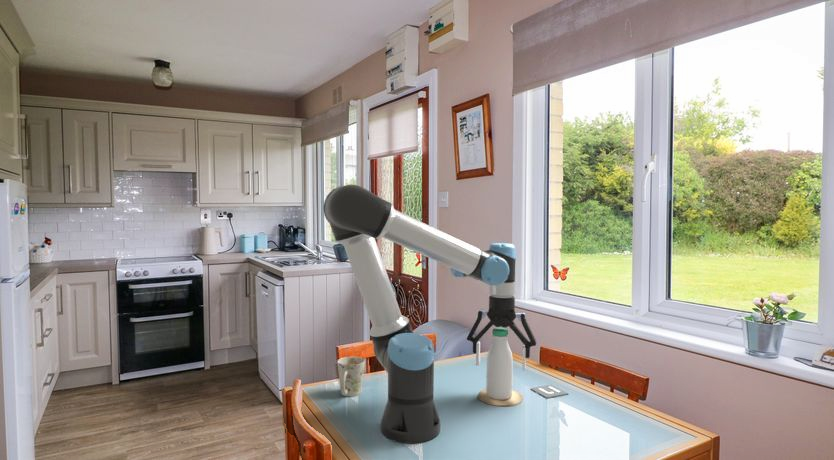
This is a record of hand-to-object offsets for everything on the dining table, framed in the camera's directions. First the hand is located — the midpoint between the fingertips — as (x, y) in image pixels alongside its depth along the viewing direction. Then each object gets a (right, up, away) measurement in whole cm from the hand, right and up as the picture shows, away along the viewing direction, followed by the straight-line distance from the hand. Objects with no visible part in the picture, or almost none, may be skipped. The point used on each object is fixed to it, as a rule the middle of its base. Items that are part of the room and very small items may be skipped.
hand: (500, 366), depth 147 cm
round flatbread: (0, -10, 0) cm, 10 cm away
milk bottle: (0, -9, 0) cm, 9 cm away
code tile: (+16, -9, +5) cm, 19 cm away
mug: (-45, -9, +1) cm, 46 cm away
